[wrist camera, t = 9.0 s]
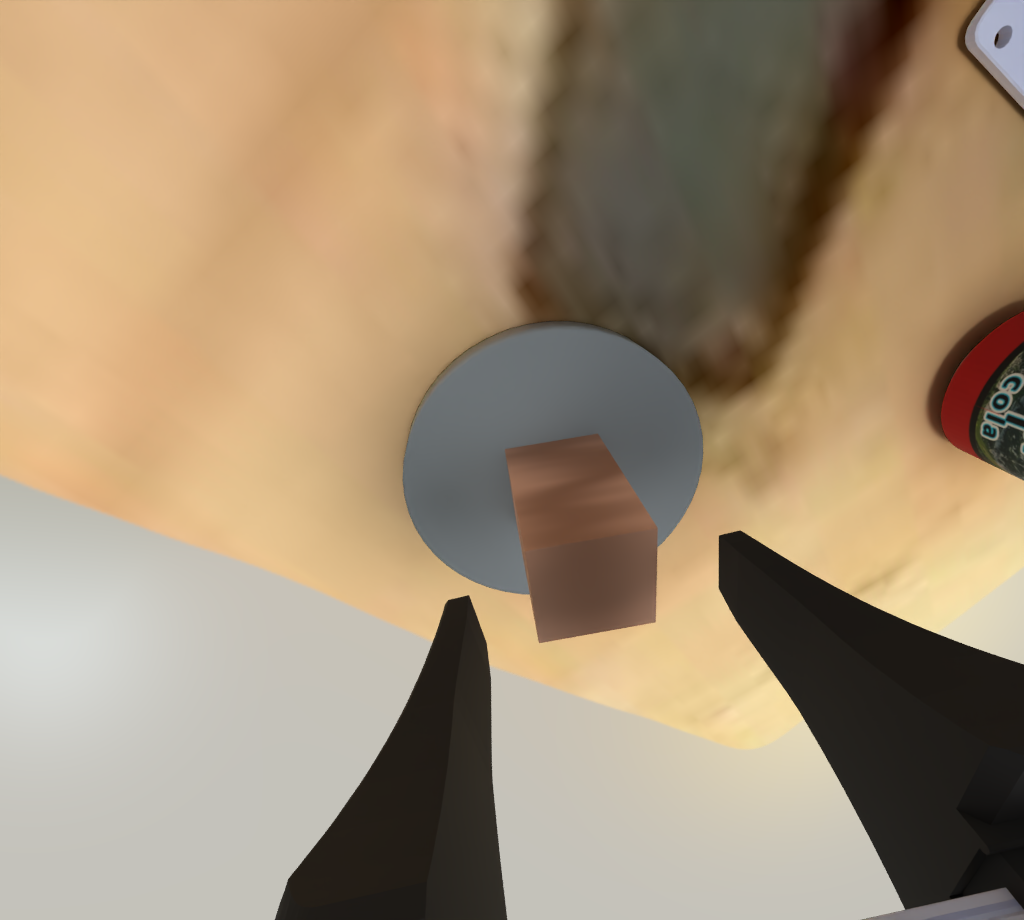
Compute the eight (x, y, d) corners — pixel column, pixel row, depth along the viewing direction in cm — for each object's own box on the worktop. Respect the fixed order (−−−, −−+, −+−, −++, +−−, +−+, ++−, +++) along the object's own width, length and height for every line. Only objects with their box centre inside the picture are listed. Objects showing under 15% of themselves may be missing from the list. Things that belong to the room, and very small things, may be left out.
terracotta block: (597, 433, 18) (657, 527, 12) (601, 510, 19) (655, 622, 14) (504, 449, 17) (524, 551, 12) (516, 525, 19) (538, 643, 14)
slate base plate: (743, 401, 19) (764, 415, 18) (592, 599, 24) (600, 622, 22) (485, 259, 16) (487, 263, 14) (365, 524, 20) (358, 546, 19)
